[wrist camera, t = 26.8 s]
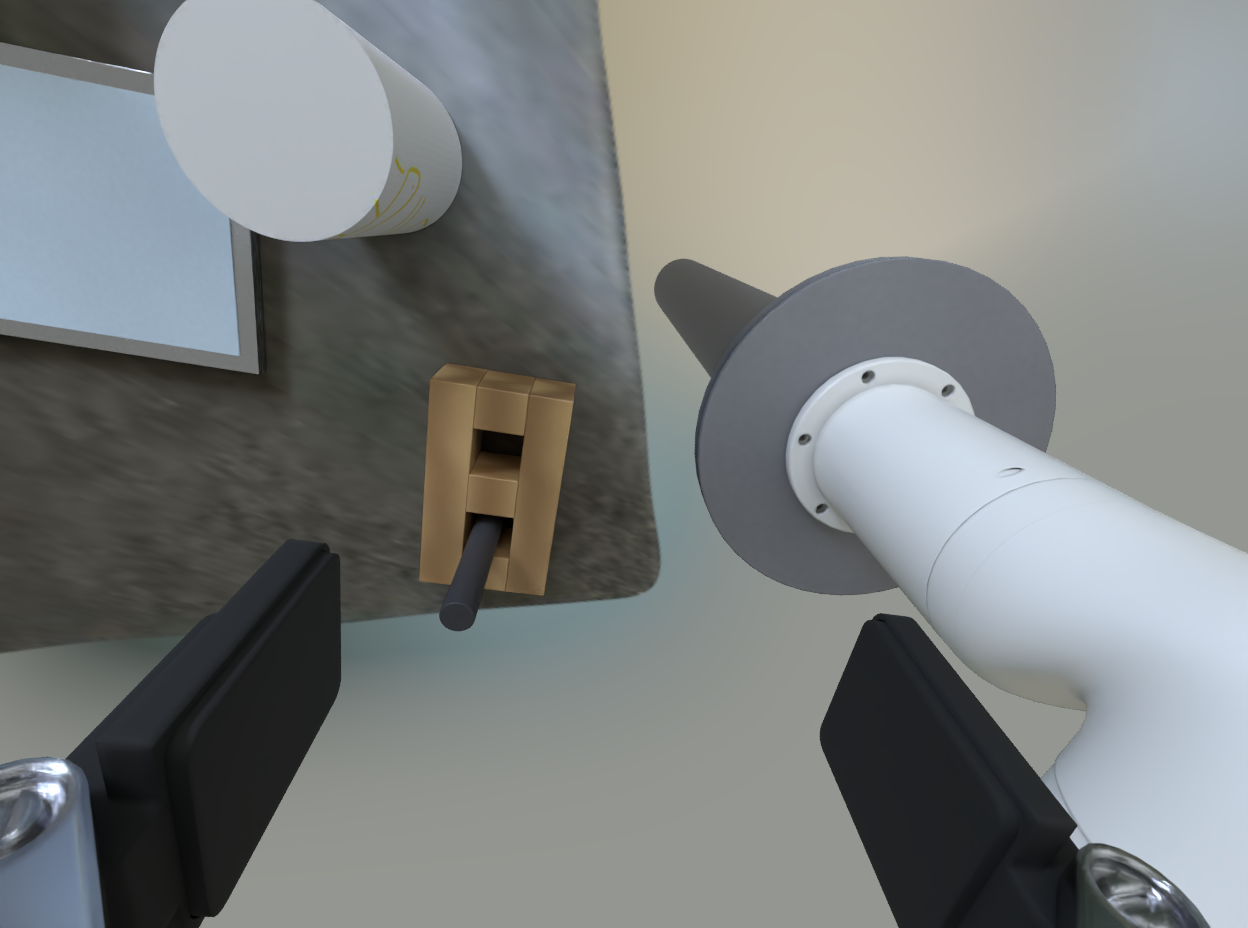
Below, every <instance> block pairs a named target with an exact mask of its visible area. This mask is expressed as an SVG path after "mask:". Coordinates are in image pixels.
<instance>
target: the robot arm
mask: <svg viewBox="0 0 1248 928" xmlns="http://www.w3.org/2000/svg"><path fill="white" fill-rule="evenodd" d="M865 372H866V375H865V376H864V377H862V375H863V374H864V373H865ZM942 389H943V390H942ZM803 434H804V436H803V438H801V439H799V438H800V436H802V435H803ZM785 456H786V471H787V475H788V479H789V483H790V486H791V488H792V489H793V491H794V493H795V495H796V497H797V499H798V500H799V501H800V503H801V504H802V505H803V507H804V508H805V509H806V510H807V511H808V512H809V513H810V514H811V515H812V516H813V517H814V518H815V519H817V520H819V521H820V522H822V523H824V524H825V525H827V526H829V527H831V528H834V529H837V530H840V531H843V532H849V533H855V534H856V535H857V537H858V538H859V539H860V540H861V541H862V543H863V544H864V545H865V546H866V548H867V549H868V550H869V551H870V552H871V554H872V555H873V556H874V557H875V559H876V560H877V561H878V562H879V563H880V565H881V566H882V567H883V568H884V569H885V571H886V572H887V573H888V574H889V576H890V577H891V578H892V579H893V580H894V582H895V583H896V584H897V585H898V587H899V588H900V589H901V590H902V591H903V593H904V594H905V595H906V596H907V597H908V599H909V600H910V601H911V602H912V604H914V606H915V607H916V608H917V610H918V611H919V612H920V613H921V614H922V616H923V617H924V618H925V619H926V621H927V622H928V623H929V624H930V625H931V626H932V628H933V629H934V630H935V631H936V633H937V634H938V635H939V636H940V637H941V638H942V639H943V641H944V642H945V643H946V644H947V645H948V646H949V648H950V649H951V650H952V651H953V652H954V654H955V655H956V656H957V657H958V658H959V659H960V660H961V661H962V662H963V663H964V664H965V665H966V666H967V667H968V668H970V669H971V670H972V671H973V672H974V673H976V674H977V675H978V676H979V677H981V678H982V679H984V680H986V681H987V682H989V683H991V684H993V685H994V686H996V687H998V688H999V689H1002V690H1004V691H1006V692H1008V693H1011V694H1014V695H1017V696H1019V697H1022V698H1025V699H1029V700H1032V701H1036V702H1039V703H1043V704H1048V705H1052V706H1057V707H1062V708H1068V709H1074V710H1082V711H1087V712H1086V717H1085V720H1084V722H1083V724H1082V726H1081V728H1080V730H1079V731H1078V732H1077V734H1076V735H1075V736H1074V737H1073V738H1072V740H1071V741H1070V742H1069V743H1068V744H1067V746H1066V747H1065V748H1064V749H1063V750H1062V751H1061V753H1060V754H1059V755H1058V756H1057V758H1056V760H1055V763H1054V764H1053V765H1052V766H1051V768H1050V769H1049V770H1048V771H1047V772H1046V773H1045V774H1044V775H1043V776H1042V777H1041V778H1040V777H1039V776H1038V775H1037V774H1036V772H1035V771H1034V770H1033V769H1032V767H1031V766H1030V765H1029V763H1027V761H1026V760H1025V759H1024V757H1023V756H1022V755H1021V754H1020V752H1019V751H1018V750H1017V748H1016V747H1015V746H1014V745H1013V743H1012V742H1011V741H1010V740H1009V738H1008V737H1007V736H1006V734H1005V733H1004V732H1003V731H1002V729H1001V728H1000V727H999V726H998V724H996V722H995V721H994V720H993V718H992V717H991V716H990V714H989V713H988V712H987V711H986V710H985V708H984V707H983V705H982V704H981V703H980V702H979V700H978V699H977V698H976V697H975V695H974V694H973V693H972V692H971V690H970V689H969V688H968V687H967V685H966V684H965V683H964V682H963V680H962V679H961V678H960V677H959V675H958V674H957V673H956V671H955V670H954V669H953V668H952V666H951V665H950V664H949V663H948V662H947V660H946V659H945V658H944V656H943V655H942V654H941V653H940V651H939V650H938V649H937V648H936V646H935V645H934V644H933V642H932V641H931V640H930V639H929V637H928V636H927V635H926V634H925V632H924V631H923V630H922V629H921V627H920V626H919V625H918V624H917V622H916V621H915V620H914V619H912V618H910V617H906V616H898V615H890V614H882V613H880V614H877V615H876V616H874V617H873V619H872V620H868V621H866V622H865V623H864V625H863V627H862V629H861V632H860V634H859V636H858V639H857V641H856V644H855V646H854V649H853V651H852V653H851V656H850V658H849V660H848V663H847V665H846V668H845V670H844V672H843V675H842V677H841V680H840V682H839V684H838V687H837V689H836V692H835V694H834V696H833V699H832V701H831V703H830V706H829V708H828V711H827V713H826V715H825V718H824V720H823V723H822V725H821V729H820V742H821V746H822V749H823V752H824V754H825V756H826V759H827V761H828V763H829V766H830V768H831V770H832V773H833V775H834V777H835V780H836V782H837V784H838V787H839V789H840V791H841V794H842V796H843V798H844V801H845V803H846V805H847V808H848V810H849V812H850V814H851V817H852V819H853V822H854V824H855V826H856V829H857V831H858V834H859V836H860V838H861V841H862V843H863V845H864V847H865V850H866V852H867V854H868V857H869V859H870V862H871V864H872V866H873V869H874V871H875V873H876V876H877V878H878V880H879V883H880V885H881V887H882V890H883V892H884V894H885V897H886V899H887V901H888V904H889V906H890V908H891V911H892V913H893V915H894V918H895V920H896V922H897V925H898V927H899V928H1248V553H1245V552H1243V551H1240V550H1238V549H1236V548H1234V547H1231V546H1229V545H1227V544H1225V543H1223V542H1221V541H1218V540H1216V539H1214V538H1212V537H1210V536H1208V535H1206V534H1203V533H1202V532H1199V531H1197V530H1195V529H1193V528H1191V527H1189V526H1187V525H1185V524H1183V523H1181V522H1178V521H1177V520H1174V519H1172V518H1170V517H1168V516H1166V515H1164V514H1162V513H1160V512H1158V511H1156V510H1154V509H1152V508H1150V507H1148V506H1146V505H1144V504H1142V503H1140V502H1138V501H1136V500H1135V499H1133V498H1131V497H1129V496H1127V495H1125V494H1123V493H1121V492H1119V491H1117V490H1115V489H1114V488H1112V487H1109V486H1107V485H1105V484H1104V483H1102V482H1100V481H1098V480H1096V479H1094V478H1092V477H1090V476H1088V475H1086V474H1084V473H1083V472H1080V471H1079V470H1077V469H1075V468H1073V467H1071V466H1069V465H1067V464H1065V463H1063V462H1062V461H1059V460H1057V459H1056V458H1054V457H1052V456H1050V455H1048V454H1046V453H1044V452H1042V451H1041V450H1039V449H1037V448H1035V447H1033V446H1031V445H1029V444H1027V443H1025V442H1023V441H1021V440H1020V439H1018V438H1016V437H1014V436H1012V435H1010V434H1008V433H1006V432H1004V431H1002V430H1000V429H999V428H997V427H995V426H993V425H991V424H989V423H987V422H985V421H983V420H981V419H979V418H978V417H976V416H975V415H974V411H973V408H972V405H971V402H970V399H969V397H968V396H967V394H966V393H965V391H964V390H963V388H962V387H961V385H960V384H959V383H958V382H957V381H956V380H955V379H954V378H952V377H951V376H950V375H949V374H948V373H946V372H944V371H943V370H941V369H939V368H937V367H935V366H934V365H931V364H929V363H926V362H923V361H921V360H918V359H912V358H906V357H881V358H876V359H872V360H867V361H863V362H861V363H858V364H856V365H853V366H851V367H848V368H846V369H845V370H843V371H841V372H840V373H838V374H836V375H835V376H833V377H831V378H830V379H829V380H828V381H826V382H825V383H824V384H823V385H822V386H821V387H819V388H818V389H817V390H816V391H815V392H814V393H813V394H812V396H811V397H810V398H809V399H808V400H807V402H806V403H805V404H804V405H803V407H802V408H801V410H800V412H799V414H798V415H797V417H796V419H795V421H794V423H793V426H792V428H791V431H790V434H789V437H788V441H787V448H786V454H785ZM818 505H819V506H818ZM340 682H341V611H340V558H339V555H338V554H335V553H330V549H329V546H328V545H327V544H326V543H318V542H310V541H302V540H294V539H290V540H287V541H286V542H285V543H284V544H283V545H282V546H281V547H280V548H279V549H278V550H277V551H276V552H275V553H274V554H273V555H272V556H271V557H270V558H269V559H268V560H267V562H266V563H265V564H264V565H263V566H262V567H261V568H260V569H259V570H258V571H257V572H256V573H255V574H254V575H253V576H252V577H251V578H250V579H249V580H248V581H247V582H246V584H245V585H244V586H243V587H242V588H241V589H240V590H239V591H238V592H237V593H236V594H235V595H234V596H233V597H232V598H231V599H230V600H229V601H228V602H227V603H226V605H225V606H224V607H223V608H222V609H221V610H220V611H219V612H218V613H217V614H212V615H209V616H206V617H205V618H204V619H203V620H201V621H200V622H199V623H198V624H197V625H196V626H195V627H194V628H193V629H192V630H191V631H190V632H189V633H188V634H187V635H186V636H185V637H184V638H183V639H182V640H181V641H180V642H179V643H178V644H177V645H176V646H175V647H174V648H173V649H172V651H171V652H169V654H168V655H167V656H166V657H165V658H164V659H163V660H162V661H161V662H160V663H159V664H158V665H157V666H156V667H155V668H154V669H153V670H152V671H151V672H150V673H149V674H148V675H147V676H146V677H145V678H144V679H143V680H142V681H141V682H140V683H139V684H138V685H137V686H136V687H135V688H134V689H133V690H132V691H131V692H130V693H129V695H127V697H126V698H125V699H124V700H123V701H122V702H121V703H120V704H119V705H118V706H117V707H116V708H115V709H114V710H113V711H112V712H111V713H110V714H109V715H108V716H107V717H106V718H105V719H104V720H103V721H102V722H101V723H100V724H99V725H98V726H97V727H96V728H95V729H94V730H93V731H92V732H91V733H90V734H89V735H88V737H86V738H85V739H84V741H83V742H82V743H81V744H80V745H79V746H78V747H77V748H76V749H75V750H74V751H73V752H72V753H71V754H70V755H69V756H68V757H67V758H66V759H65V760H64V759H58V758H52V757H40V758H28V759H20V760H17V761H13V762H9V763H5V764H1V765H0V928H199V926H200V925H201V923H202V921H203V919H204V917H215V916H216V915H218V913H219V912H220V911H221V910H222V909H223V907H224V905H225V904H226V902H227V900H228V899H229V897H230V895H231V893H232V891H233V889H234V887H235V885H236V884H237V882H238V880H239V878H240V876H241V874H242V873H243V871H244V869H245V867H246V865H247V863H248V861H249V859H250V858H251V856H252V854H253V852H254V850H255V848H256V846H257V845H258V843H259V841H260V839H261V837H262V835H263V833H264V832H265V830H266V828H267V826H268V824H269V822H270V820H271V819H272V817H273V815H274V813H275V811H276V809H277V807H278V805H279V804H280V802H281V800H282V798H283V796H284V794H285V793H286V791H287V789H288V787H289V785H290V783H291V781H292V780H293V778H294V776H295V774H296V772H297V770H298V768H299V767H300V765H301V763H302V761H303V759H304V757H305V755H306V753H307V752H308V750H309V748H310V746H311V744H312V742H313V740H314V739H315V737H316V735H317V733H318V731H319V729H320V727H321V726H322V724H323V722H324V720H325V718H326V716H327V714H328V713H329V710H330V709H331V707H332V705H333V703H334V701H335V699H336V697H337V694H338V691H339V687H340Z"/></svg>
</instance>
